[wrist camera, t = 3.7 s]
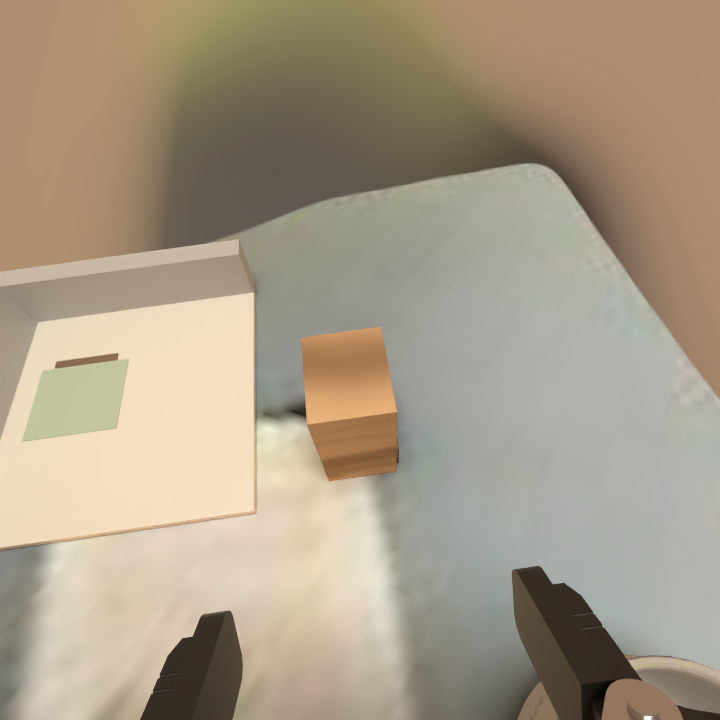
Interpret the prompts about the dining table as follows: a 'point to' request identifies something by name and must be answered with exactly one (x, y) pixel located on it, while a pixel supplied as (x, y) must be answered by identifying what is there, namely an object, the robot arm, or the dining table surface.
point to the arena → (127, 394)
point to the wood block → (350, 403)
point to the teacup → (667, 673)
